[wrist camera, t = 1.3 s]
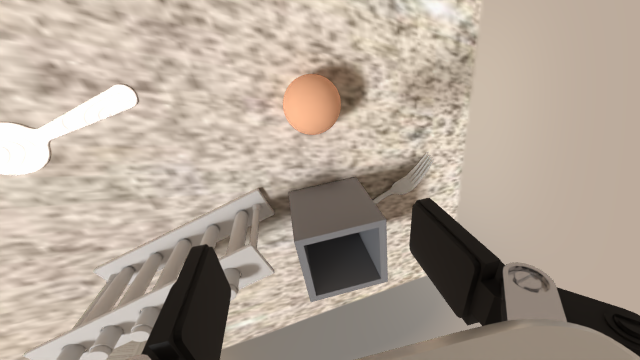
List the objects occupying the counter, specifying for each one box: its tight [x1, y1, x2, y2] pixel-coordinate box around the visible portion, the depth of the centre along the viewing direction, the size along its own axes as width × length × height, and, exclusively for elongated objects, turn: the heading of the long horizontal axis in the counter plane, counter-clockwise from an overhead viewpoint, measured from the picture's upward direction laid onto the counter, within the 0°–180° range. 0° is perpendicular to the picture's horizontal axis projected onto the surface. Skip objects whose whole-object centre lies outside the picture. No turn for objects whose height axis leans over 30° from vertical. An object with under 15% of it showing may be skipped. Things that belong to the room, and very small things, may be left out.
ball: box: [283, 74, 341, 135], centre depth 25 cm, size 6×6×6 cm
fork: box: [373, 152, 434, 204], centre depth 35 cm, size 3×21×3 cm, turn 130°
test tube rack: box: [23, 188, 275, 360], centre depth 27 cm, size 25×4×13 cm, turn 114°
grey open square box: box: [288, 177, 388, 302], centre depth 30 cm, size 10×10×10 cm
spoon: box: [0, 84, 138, 175], centre depth 24 cm, size 5×18×1 cm, turn 112°
